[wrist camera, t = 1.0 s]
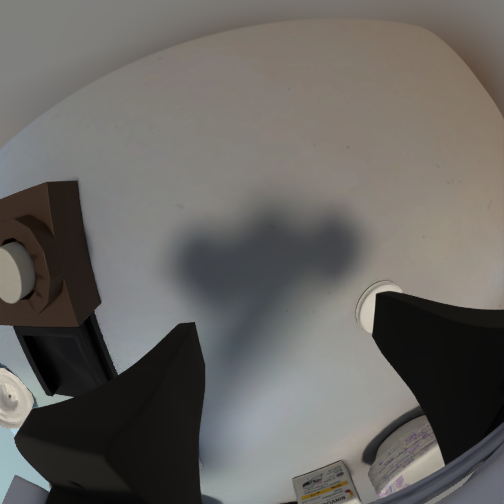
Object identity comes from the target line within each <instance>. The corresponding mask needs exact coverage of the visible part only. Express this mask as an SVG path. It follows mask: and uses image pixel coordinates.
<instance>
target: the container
mask: <svg viewBox="0 0 504 504" xmlns="http://www.w3.org/2000/svg"><path fill="white" fill-rule="evenodd" d="M292 481H293V486H294V490H295V494H296V498H297V502H298V504H362V501H361V499H360V497H359V494H358V492H357V489H356V487H355V484H354V482H353V480H352V477H351V475H350V473H349V472H348V470H347V468H346V467H345V465H344V463H343V462H342V461H339V462H337V463H334V464H332V465H329V466H327V467H324V468H322V469H319V470H317V471H314V472H311V473H308V474H306V475H303V476H300V477H297V478H294V479H293V480H292Z"/></svg>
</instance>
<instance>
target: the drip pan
mask: <svg viewBox="0 0 504 504" xmlns="http://www.w3.org/2000/svg"><path fill="white" fill-rule="evenodd" d="M13 328H14V330H15V333H16V335H17V338H18V340H19V342H20V345H21V347H22V349H23V351H24V353H25V355H26V358H27V360H28V362H29V364H30V366H31V368H32V370H33V372H34V373H35V375H36V377H37V379H38V381H39V383H40V384H41V386H42V388H43V390H44V391H45V393H46V395H48V396H53V395H54V394H59V395H65V396H71V397H76V396H79V395H81V394H84V393H86V392H88V391H91V390H93V389H95V388H96V387H98V386H100V385H102V384H104V383H106V382H108V381H110V380H111V379H113V378H115V377H116V376H118V375H117V373H116V370H115V368H114V365H113V363H112V361H111V358H110V356H109V353H108V351H107V348H106V345H105V343H104V340H103V337H102V335H101V332H100V329H99V326H98V323H97V320H96V317H95V314H94V311H93V312H92V313H91V314H90V315H89V317H88V318H87V319H86V320H85V321H84V322H83V323H82V324H81V325H80V326H79V327H35V326H13Z"/></svg>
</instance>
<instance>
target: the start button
mask: <svg viewBox="0 0 504 504" xmlns="http://www.w3.org/2000/svg"><path fill="white" fill-rule="evenodd" d="M35 282H36V270H35V266H34V262H33V259H32V257H31V255H30V254H29V252H28V251H27V249H26V248H25V247H24V246H23V245H22V244H20V243H18V242H11V243H8V244H6V245H3V246H0V298H1V299H2V300H4V301H5V302H7V303H16V302H17V301H19V300H20V299H22V298H23V297H24V296H26V295H27V294H29V293H30V292H31V291H32V290H33V288H34V286H35Z"/></svg>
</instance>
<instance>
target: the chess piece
mask: <svg viewBox="0 0 504 504" xmlns="http://www.w3.org/2000/svg"><path fill="white" fill-rule="evenodd" d="M385 291H394V292H399V293H403V292H402V290H401V289H400V288H399V287H398V286H397V285H396V284H395V283H393V282H391V281H381V282H378V283H376V284H374V285H372V286H371V287H370V288H368V289H367V290H366V291H365V293H364V294H363V295H362V297H361V298H360V300H359V302H358V305H357V309H356V319H357V322H358V324H359V326H360V327H361V328H363V329H364V330H365V331H367V332H369V333H372V331H373V322H374V311H375V298H376V293H380V292H385Z"/></svg>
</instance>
